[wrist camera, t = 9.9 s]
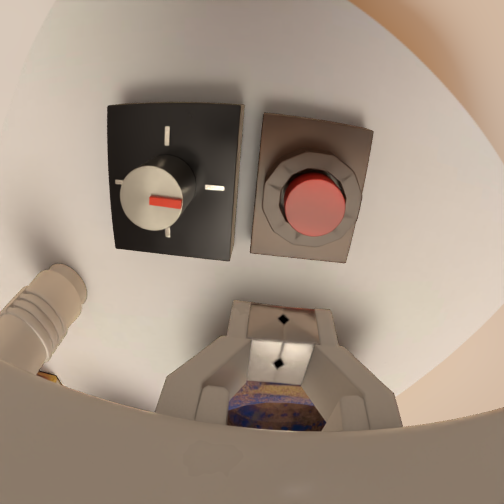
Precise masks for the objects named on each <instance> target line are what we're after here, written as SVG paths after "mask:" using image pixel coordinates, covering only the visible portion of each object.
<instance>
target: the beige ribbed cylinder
mask: <svg viewBox="0 0 504 504" xmlns="http://www.w3.org/2000/svg"><path fill="white" fill-rule="evenodd" d="M86 298H87V290H86V287H85V284H84V282H83V281H82V279H81V277H80V276H79V275H78V274H77V273H76V272H75V271H74V270H73V269H72V268H70V267H68V266H66V265H64V264H54V265H52V266H51V267H50V268H49V270H44V271H41V272H40V273H39V274H38V275H37V276H36V277H35V279H34V280H33V281H32V282H31V283H30V285H29V286H25V287H23V288H22V289H21V290H20V291H19V292H18V293H17V294H16V295H15V297H14V298H13V299H12V300H11V301H10V302H9V303H8V304H7V305H6V306H5V307H4V308H3V310H2V311H1V312H0V359H2V360H4V361H6V362H8V363H10V364H13V365H15V366H17V367H19V368H21V369H23V370H26V371H28V372H30V373H33V374H35V375H36V374H37V373H38V371H39V370H40V368H41V366H42V365H43V363H46V362H48V361H49V360H50V358H51V357H52V354H53V353H54V352H55V351H56V349H57V346H59V345H60V343H61V342H62V339H64V337H65V336H66V334H67V331H68V328H69V327H70V326H71V324H72V323H73V322H74V321H75V320H76V319H77V317H78V316H79V315H80V313H81V310H82V304H83V303H84V302H85V301H86Z"/></svg>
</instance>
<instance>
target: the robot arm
mask: <svg viewBox="0 0 504 504" xmlns="http://www.w3.org/2000/svg"><path fill="white" fill-rule="evenodd" d="M249 310H250V311H249ZM246 381H258V382H274V383H283V384H294V385H301V387H302V388H303V390H304V391H305V393H306V394H307V395H308V397H309V398H310V400H311V401H312V403H313V404H314V405H315V407H316V408H317V410H318V411H319V413H320V414H321V415H322V417H323V418H324V420H325V421H326V422H327V423H326V424H325V426H324V428H323V429H322V431H284V430H268V429H256V428H246V427H236V426H228V425H227V420H228V408H229V401H230V399H231V398H232V397H233V396H234V395H235V394H236V393H237V392H238V391H239V390H240V388H241V387H242V386H243V385H244V384H245V383H246ZM0 504H504V407H503V408H499V409H496V410H492V411H488V412H484V413H480V414H476V415H472V416H468V417H462V418H457V419H452V420H447V421H442V422H435V423H429V424H422V425H415V426H407V427H403V425H402V421H401V417H400V414H399V410H398V406H397V403H396V399H395V395H394V393H393V392H392V391H391V390H390V389H389V388H387V387H386V386H385V385H384V384H383V383H382V382H381V381H380V380H379V379H378V378H377V377H376V376H375V375H374V374H372V373H371V372H370V371H369V370H368V369H367V368H366V367H365V366H364V365H363V364H362V363H361V362H360V361H359V360H357V359H356V358H355V357H354V356H353V355H352V354H351V353H350V352H349V351H348V350H347V349H346V348H345V347H344V346H339V345H338V340H337V335H336V331H335V326H334V322H333V317H332V313H331V311H330V310H329V309H307V308H295V307H285V306H278V305H270V304H262V303H255V302H251V304H250V302H246V301H238V300H234V301H233V304H232V309H231V315H230V320H229V326H228V331H227V336H223V335H222V336H220V337H219V338H218V339H216V340H215V341H214V342H212V343H211V344H210V345H208V346H207V347H206V348H205V349H203V350H202V351H201V352H199V353H198V354H197V355H195V356H194V357H193V358H191V359H190V360H189V361H187V362H186V363H185V364H183V365H182V366H180V367H179V368H178V369H176V370H175V371H174V372H172V373H171V374H170V375H168V376H167V377H166V380H165V383H164V386H163V389H162V392H161V395H160V398H159V401H158V404H157V407H156V410H155V413H154V412H149V411H145V410H141V409H137V408H133V407H129V406H126V405H122V404H118V403H115V402H111V401H108V400H104V399H101V398H98V397H95V396H92V395H88V394H85V393H82V392H80V391H77V390H74V389H71V388H68V387H65V386H63V385H60V384H57V383H55V382H52V381H50V380H47V379H45V378H42V377H40V376H37V375H35V374H33V373H30V372H28V371H26V370H23V369H21V368H19V367H17V366H15V365H13V364H10V363H8V362H6V361H4V360H2V359H0Z"/></svg>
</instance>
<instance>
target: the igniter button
mask: <svg viewBox="0 0 504 504" xmlns="http://www.w3.org/2000/svg"><path fill="white" fill-rule="evenodd" d="M284 208H285V215H286V218H287V220H288V222H289V224H290V225H291V226H292V227H293V229H295V230H296V231H297V232H299V233H301V234H303V235H306V236H322V235H325V234H328V233H330V232H331V231H333V230H334V229H335V228H336V227H337V226H338V225H339V224H340V223H341V221H342V219H343V217H344V214H345V200H344V197H343V194H342V193H341V191H340V189H339V188H338V187H337V185H336V184H335V183H334V181H333V180H332V179H330V178H329V177H327V176H326V175H323V174H320V173H305V174H302V175H300V176H298V177H296V178H295V179H294V180H293V181H292V182H291V183H290V184H289V185H288V187H287V189H286V191H285V195H284Z"/></svg>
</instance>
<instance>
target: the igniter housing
mask: <svg viewBox="0 0 504 504" xmlns="http://www.w3.org/2000/svg"><path fill="white" fill-rule="evenodd" d="M372 138H373V131H372V130H369V129H367V128H363V127H358V126H353V125H348V124H343V123H337V122H331V121H325V120H319V119H313V118H306V117H299V116H291V115H283V114H274V113H264V114H263V122H262V133H261V143H260V153H259V163H258V174H257V184H256V194H255V205H254V215H253V226H252V236H251V246H250V253H253V254H263V255H272V256H282V257H291V258H301V259H310V260H320V261H329V262H339V263H346V260H347V256H348V252H349V248H350V244H351V240H352V236H353V232H354V228H355V224H356V221H357V219H358V214H359V210H360V205H361V201H362V192H363V187H364V182H365V177H366V172H367V167H368V161H369V156H370V150H371V144H372ZM305 173H320V174H323V175H326V176H327V177H329V178H330V179H332V180H333V181H334V183H335V184H336V185H337V187H338V188H339V189H340V191H341V193H342V194H343V197H344V200H345V214H344V217H343V219H342V221H341V223H340V224H339V225H338V226H337V227H336V228H335V229H334V230H333V231H331V232H330V233H328V234H325V235H322V236H306V235H303V234H301V233H299V232H297V231H296V230H295V229H293V227H292V226H291V225H290V224H289V222H288V220H287V218H286V215H285V208H284V195H285V191H286V189H287V187H288V185H289V184H290V183H291V182H292V181H293V180H294V179H295V178H296V177H298V176H300V175H302V174H305Z"/></svg>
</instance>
